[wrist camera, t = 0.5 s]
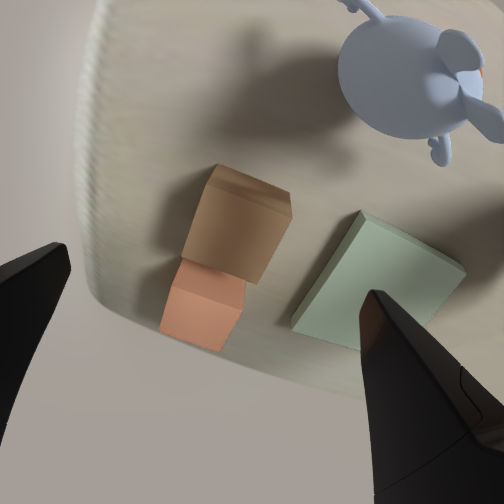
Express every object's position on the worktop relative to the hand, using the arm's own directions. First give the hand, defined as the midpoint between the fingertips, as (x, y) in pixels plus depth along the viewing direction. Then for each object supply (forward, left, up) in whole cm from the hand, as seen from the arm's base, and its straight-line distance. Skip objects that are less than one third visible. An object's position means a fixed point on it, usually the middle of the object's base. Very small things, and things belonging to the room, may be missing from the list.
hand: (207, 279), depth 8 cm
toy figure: (-5, -8, -13) cm, 16 cm away
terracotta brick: (-1, +11, -13) cm, 17 cm away
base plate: (-14, +6, -13) cm, 20 cm away
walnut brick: (-1, +4, -13) cm, 13 cm away
